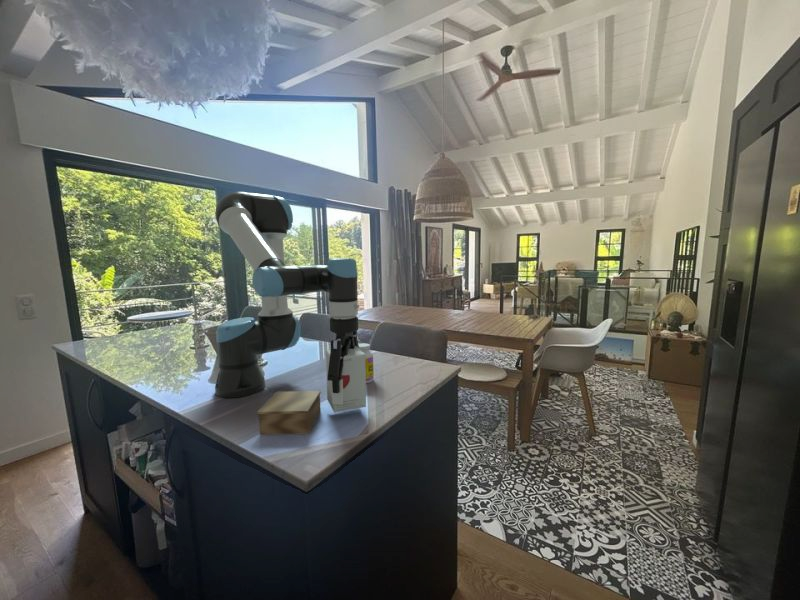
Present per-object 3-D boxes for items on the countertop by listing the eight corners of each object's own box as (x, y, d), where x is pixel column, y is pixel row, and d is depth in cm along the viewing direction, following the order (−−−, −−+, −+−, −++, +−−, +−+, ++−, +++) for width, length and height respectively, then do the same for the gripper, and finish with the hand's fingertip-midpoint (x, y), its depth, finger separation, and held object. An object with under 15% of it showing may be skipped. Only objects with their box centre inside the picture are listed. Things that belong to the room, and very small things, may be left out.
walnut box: (259, 434, 83) (257, 411, 83) (277, 412, 96) (276, 391, 95) (309, 434, 83) (307, 410, 82) (321, 411, 95) (320, 391, 95)
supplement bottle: (370, 384, 115) (369, 347, 113) (352, 383, 116) (350, 347, 114) (376, 377, 121) (374, 342, 120) (358, 377, 122) (356, 342, 121)
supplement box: (333, 413, 88) (331, 358, 86) (326, 400, 96) (324, 348, 94) (367, 407, 91) (366, 353, 89) (357, 394, 100) (356, 345, 97)
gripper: (341, 326, 78) (343, 415, 81) (370, 309, 101) (371, 378, 104) (310, 325, 79) (314, 412, 82) (346, 308, 103) (348, 376, 106)
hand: (346, 393), depth 93 cm, fingers closed on supplement box, 12 cm apart
